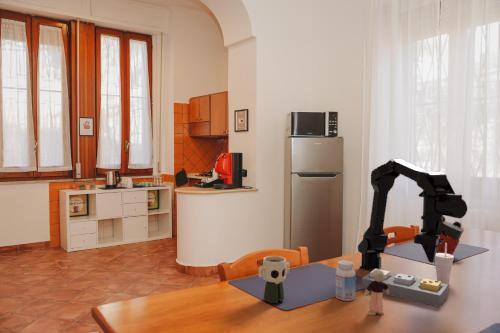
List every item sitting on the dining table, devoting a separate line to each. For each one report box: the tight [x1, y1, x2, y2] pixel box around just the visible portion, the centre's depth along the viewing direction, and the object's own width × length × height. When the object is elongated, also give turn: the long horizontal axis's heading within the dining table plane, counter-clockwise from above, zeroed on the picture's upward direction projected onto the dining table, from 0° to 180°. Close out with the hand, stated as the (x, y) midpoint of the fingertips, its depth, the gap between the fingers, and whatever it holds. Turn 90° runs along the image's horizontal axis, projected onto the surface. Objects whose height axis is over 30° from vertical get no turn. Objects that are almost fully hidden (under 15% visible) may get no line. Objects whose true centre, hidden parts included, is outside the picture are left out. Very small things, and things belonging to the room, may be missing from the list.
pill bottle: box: [335, 260, 356, 302], centre depth 123 cm, size 6×6×11 cm
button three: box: [420, 278, 441, 292], centre depth 124 cm, size 5×5×3 cm
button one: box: [369, 268, 391, 280], centre depth 134 cm, size 5×5×3 cm
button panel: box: [361, 272, 449, 307], centre depth 129 cm, size 24×12×4 cm, turn 52°
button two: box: [394, 273, 416, 286], centre depth 129 cm, size 5×5×3 cm
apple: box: [436, 235, 460, 255], centre depth 172 cm, size 11×11×12 cm
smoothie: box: [434, 243, 455, 284], centre depth 138 cm, size 6×6×14 cm
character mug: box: [258, 255, 290, 304], centre depth 120 cm, size 11×7×13 cm, turn 118°
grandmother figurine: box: [363, 269, 390, 316], centre depth 112 cm, size 8×4×13 cm, turn 114°
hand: (431, 262), depth 124 cm, fingers closed
